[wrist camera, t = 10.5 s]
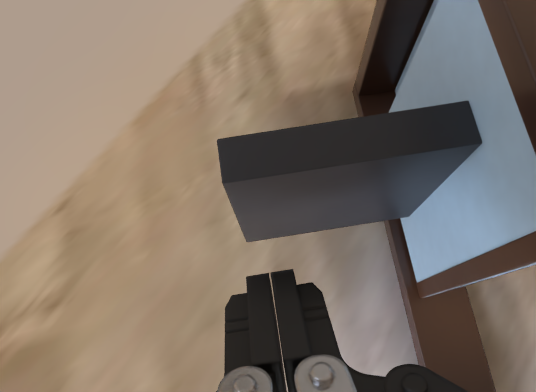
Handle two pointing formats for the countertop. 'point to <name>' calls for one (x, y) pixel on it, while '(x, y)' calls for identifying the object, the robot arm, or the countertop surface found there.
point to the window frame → (417, 309)
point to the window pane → (408, 164)
